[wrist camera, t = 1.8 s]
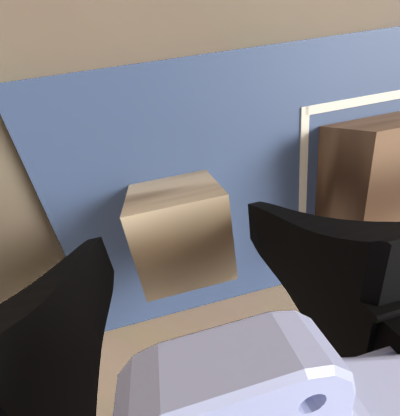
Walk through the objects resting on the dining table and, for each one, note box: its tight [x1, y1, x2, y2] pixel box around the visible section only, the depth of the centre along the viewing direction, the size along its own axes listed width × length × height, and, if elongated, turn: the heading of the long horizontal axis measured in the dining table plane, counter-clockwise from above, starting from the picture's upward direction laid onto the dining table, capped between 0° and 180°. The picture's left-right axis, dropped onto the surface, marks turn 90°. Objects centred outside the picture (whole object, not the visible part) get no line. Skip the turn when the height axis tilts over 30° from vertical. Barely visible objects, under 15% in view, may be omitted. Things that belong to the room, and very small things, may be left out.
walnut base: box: [315, 111, 400, 222], centre depth 14 cm, size 7×7×4 cm
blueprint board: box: [0, 26, 400, 332], centre depth 16 cm, size 16×28×1 cm, turn 99°
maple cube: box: [120, 170, 238, 302], centre depth 13 cm, size 4×4×4 cm
